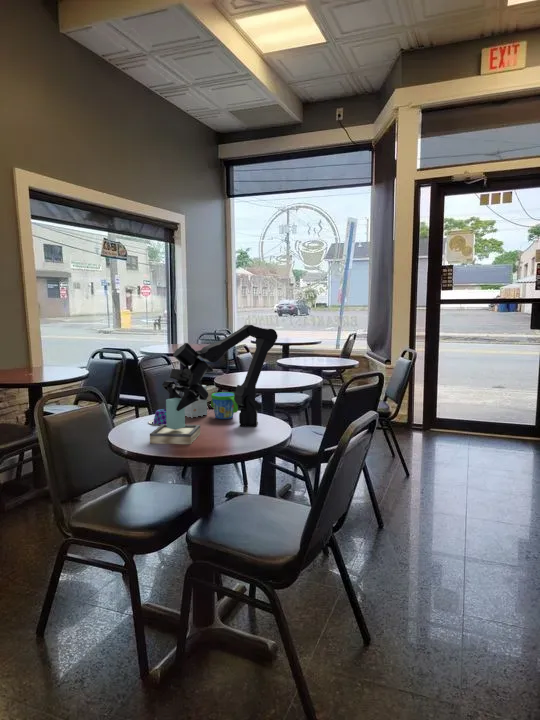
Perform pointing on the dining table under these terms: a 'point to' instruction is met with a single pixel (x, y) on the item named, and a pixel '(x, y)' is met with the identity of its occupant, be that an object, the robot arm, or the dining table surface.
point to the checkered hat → (159, 417)
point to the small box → (196, 407)
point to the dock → (175, 435)
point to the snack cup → (224, 405)
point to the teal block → (174, 414)
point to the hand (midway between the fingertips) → (172, 409)
